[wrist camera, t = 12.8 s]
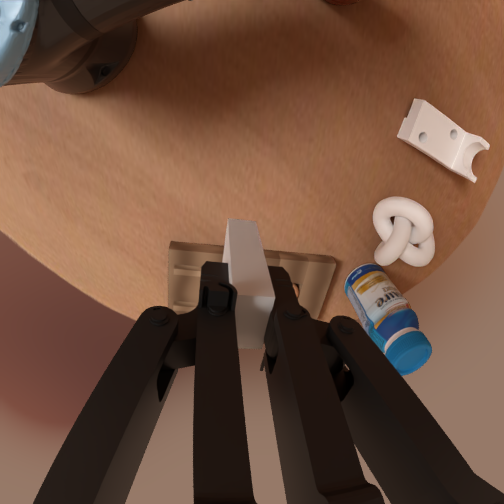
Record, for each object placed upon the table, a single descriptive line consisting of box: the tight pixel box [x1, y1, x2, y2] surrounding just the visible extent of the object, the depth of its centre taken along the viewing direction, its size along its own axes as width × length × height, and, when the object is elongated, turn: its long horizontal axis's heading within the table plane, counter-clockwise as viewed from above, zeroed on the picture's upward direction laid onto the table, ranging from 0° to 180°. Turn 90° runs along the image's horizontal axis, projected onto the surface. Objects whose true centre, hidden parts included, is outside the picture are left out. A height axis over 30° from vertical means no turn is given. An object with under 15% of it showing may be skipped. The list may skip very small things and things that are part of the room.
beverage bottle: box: [344, 263, 432, 376], centre depth 44 cm, size 8×8×20 cm
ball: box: [292, 283, 299, 297], centre depth 50 cm, size 3×3×3 cm
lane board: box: [168, 241, 336, 320], centre depth 49 cm, size 26×13×4 cm, turn 81°
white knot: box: [373, 196, 435, 267], centre depth 44 cm, size 11×12×9 cm
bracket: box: [397, 98, 490, 183], centre depth 37 cm, size 13×7×8 cm, turn 71°
